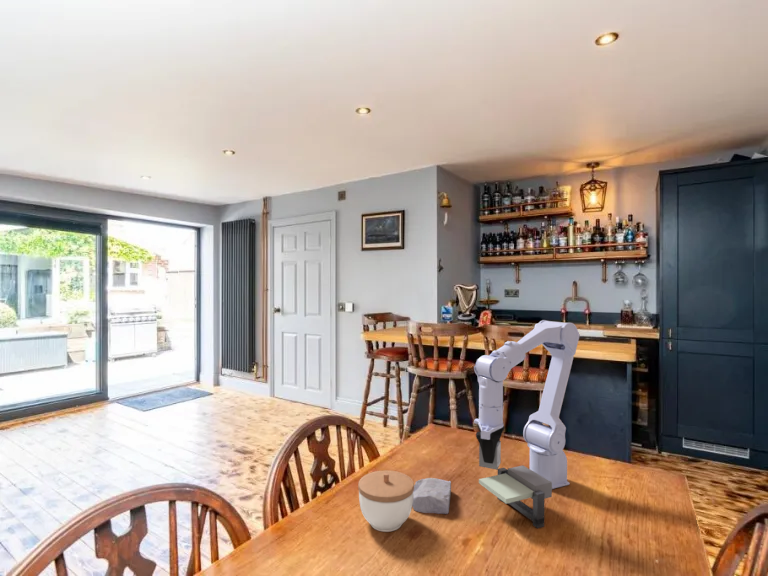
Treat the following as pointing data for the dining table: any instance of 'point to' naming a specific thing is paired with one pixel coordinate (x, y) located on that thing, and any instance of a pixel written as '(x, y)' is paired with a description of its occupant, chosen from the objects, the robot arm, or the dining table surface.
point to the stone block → (432, 496)
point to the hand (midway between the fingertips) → (490, 458)
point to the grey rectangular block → (496, 459)
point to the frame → (532, 514)
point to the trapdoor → (517, 484)
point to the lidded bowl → (386, 499)
